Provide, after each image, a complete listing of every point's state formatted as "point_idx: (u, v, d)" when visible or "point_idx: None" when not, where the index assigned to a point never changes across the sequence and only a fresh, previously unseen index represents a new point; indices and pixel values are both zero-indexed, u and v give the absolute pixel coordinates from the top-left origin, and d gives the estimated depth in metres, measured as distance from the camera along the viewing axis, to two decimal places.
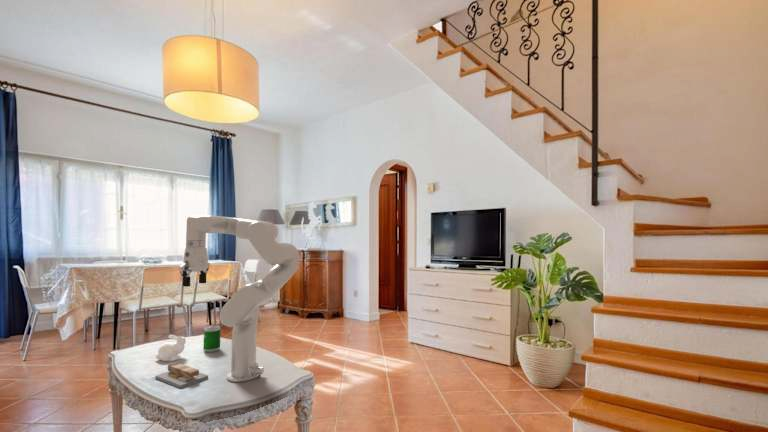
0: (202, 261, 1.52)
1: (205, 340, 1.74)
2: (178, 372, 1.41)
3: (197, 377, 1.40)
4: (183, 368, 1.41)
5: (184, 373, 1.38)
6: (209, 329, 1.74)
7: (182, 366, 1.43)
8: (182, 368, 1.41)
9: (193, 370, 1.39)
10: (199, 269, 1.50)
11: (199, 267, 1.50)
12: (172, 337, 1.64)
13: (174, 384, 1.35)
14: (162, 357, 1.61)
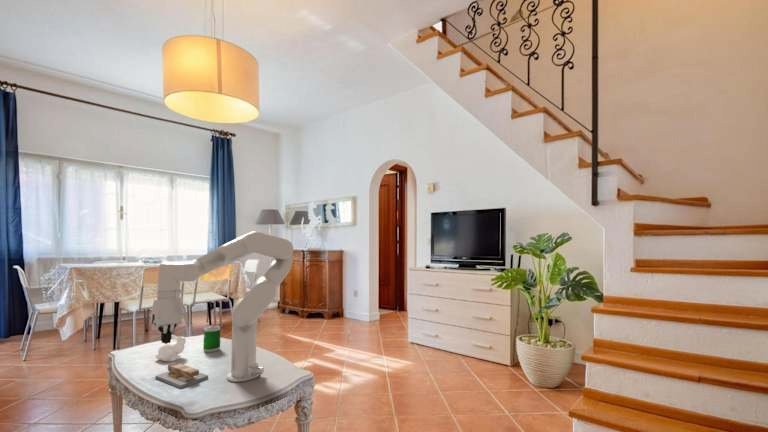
0: None
1: (205, 340, 1.74)
2: (178, 372, 1.41)
3: (197, 377, 1.40)
4: (183, 368, 1.41)
5: (184, 373, 1.38)
6: (209, 329, 1.74)
7: (182, 366, 1.43)
8: (182, 368, 1.41)
9: (193, 370, 1.39)
10: None
11: None
12: (172, 337, 1.64)
13: (174, 384, 1.35)
14: (162, 357, 1.61)
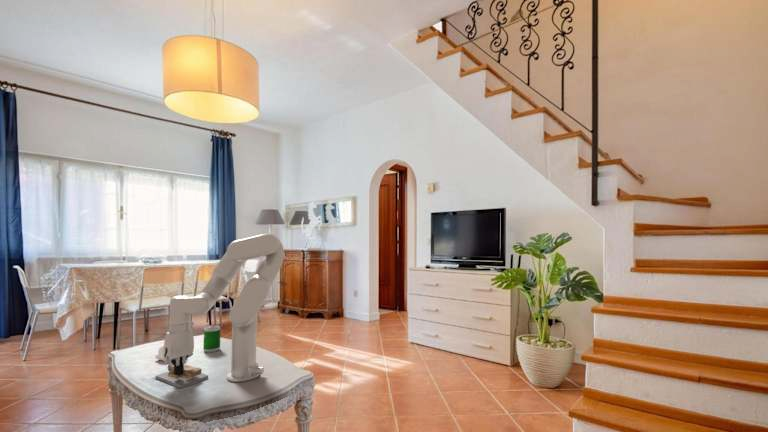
0: None
1: (205, 340, 1.74)
2: None
3: (197, 377, 1.40)
4: (185, 367, 1.42)
5: (187, 372, 1.39)
6: (209, 329, 1.74)
7: (184, 366, 1.43)
8: (184, 367, 1.42)
9: (196, 369, 1.40)
10: None
11: None
12: None
13: (174, 384, 1.35)
14: (162, 357, 1.61)
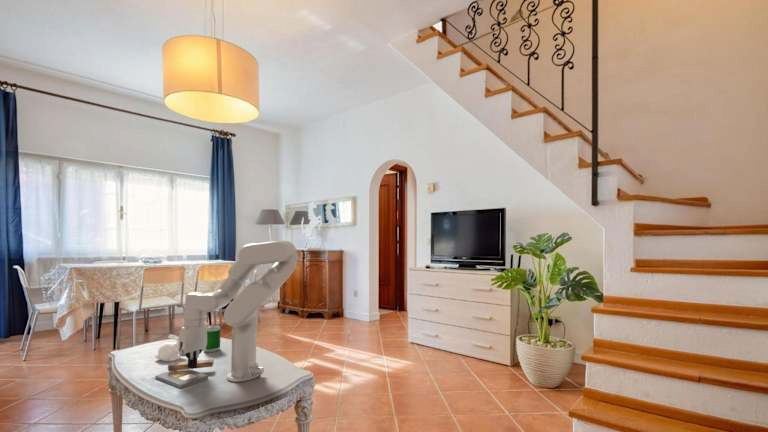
0: None
1: None
2: None
3: (197, 377, 1.40)
4: None
5: (203, 365, 1.48)
6: (209, 329, 1.74)
7: None
8: None
9: (209, 360, 1.50)
10: None
11: None
12: (172, 337, 1.64)
13: (174, 384, 1.35)
14: (162, 357, 1.61)
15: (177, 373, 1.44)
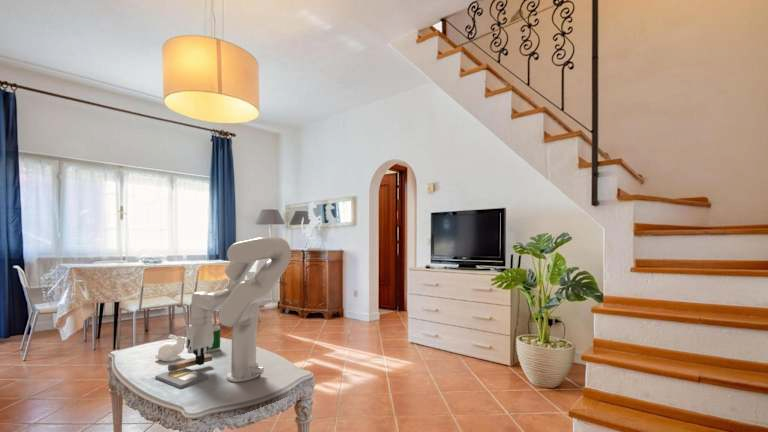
0: None
1: None
2: (193, 363, 1.50)
3: (197, 377, 1.40)
4: (195, 359, 1.52)
5: (204, 360, 1.53)
6: None
7: (189, 359, 1.51)
8: (194, 359, 1.51)
9: (207, 355, 1.56)
10: None
11: None
12: (172, 337, 1.64)
13: (174, 384, 1.35)
14: (162, 357, 1.61)
15: (177, 373, 1.44)
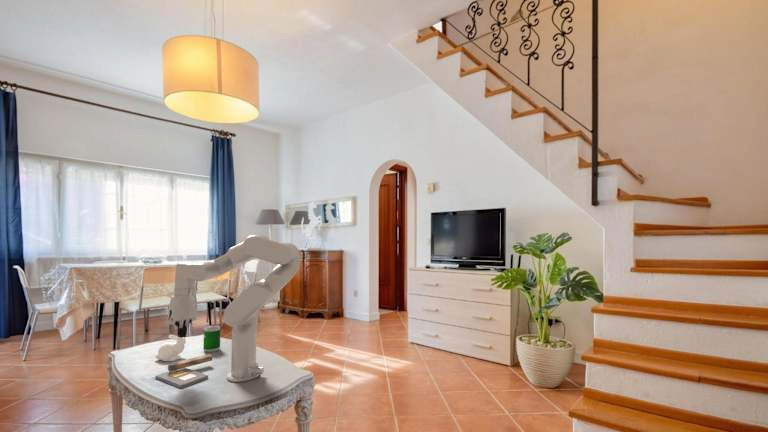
0: None
1: (205, 340, 1.74)
2: (193, 363, 1.50)
3: (197, 377, 1.40)
4: (195, 359, 1.52)
5: (204, 360, 1.53)
6: (209, 329, 1.74)
7: (189, 359, 1.51)
8: (194, 359, 1.51)
9: (207, 355, 1.56)
10: None
11: None
12: (172, 337, 1.64)
13: (174, 384, 1.35)
14: (162, 357, 1.61)
15: (177, 373, 1.44)
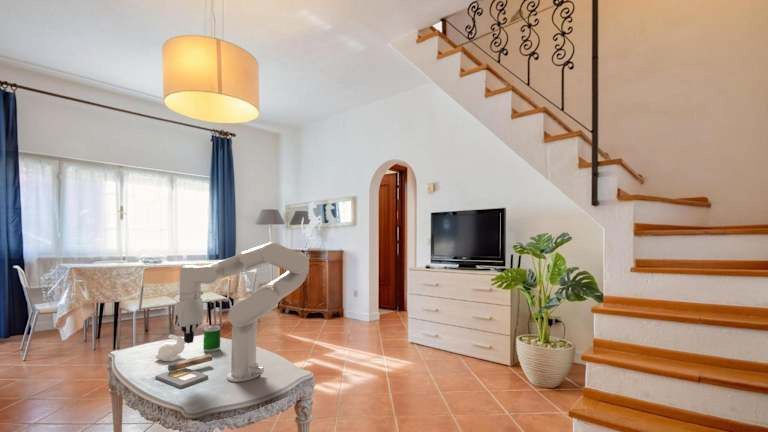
0: None
1: (205, 340, 1.74)
2: (193, 363, 1.50)
3: (197, 377, 1.40)
4: (195, 359, 1.52)
5: (204, 360, 1.53)
6: (209, 329, 1.74)
7: (189, 359, 1.51)
8: (194, 359, 1.51)
9: (207, 355, 1.56)
10: None
11: None
12: (172, 337, 1.64)
13: (174, 384, 1.35)
14: (162, 357, 1.61)
15: (177, 373, 1.44)
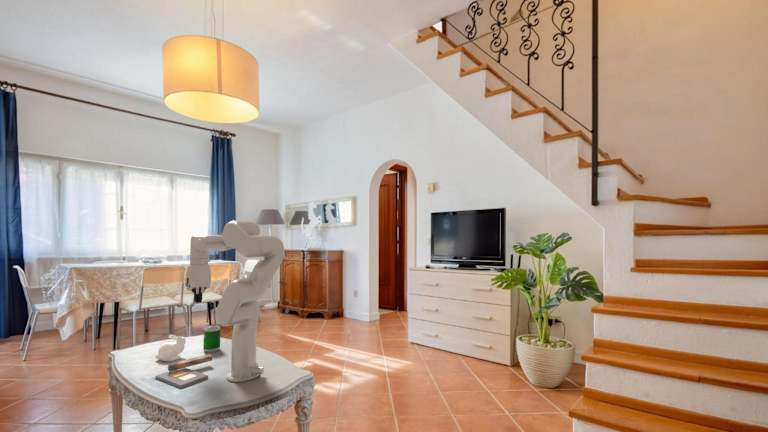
0: None
1: (205, 340, 1.74)
2: (193, 363, 1.50)
3: (197, 377, 1.40)
4: (195, 359, 1.52)
5: (204, 360, 1.53)
6: (209, 329, 1.74)
7: (189, 359, 1.51)
8: (194, 359, 1.51)
9: (207, 355, 1.56)
10: None
11: None
12: (172, 337, 1.64)
13: (174, 384, 1.35)
14: (162, 357, 1.61)
15: (177, 373, 1.44)
